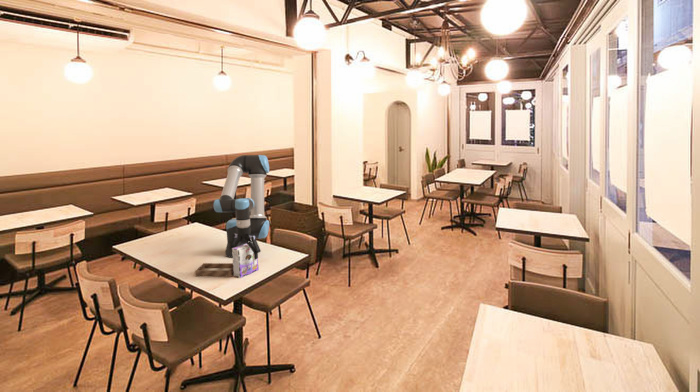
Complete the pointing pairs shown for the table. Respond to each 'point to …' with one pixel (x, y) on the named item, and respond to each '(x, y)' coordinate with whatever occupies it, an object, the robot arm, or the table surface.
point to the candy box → (243, 261)
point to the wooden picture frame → (215, 270)
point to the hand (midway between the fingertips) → (245, 262)
